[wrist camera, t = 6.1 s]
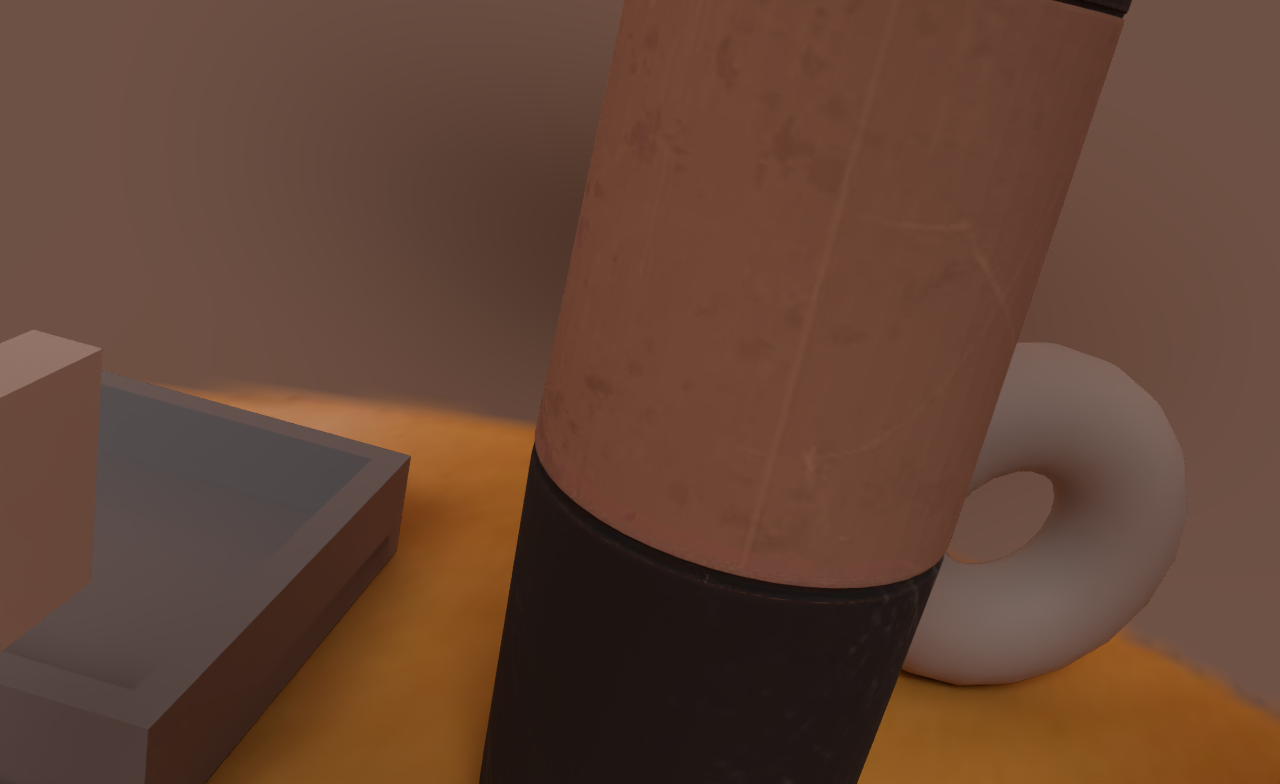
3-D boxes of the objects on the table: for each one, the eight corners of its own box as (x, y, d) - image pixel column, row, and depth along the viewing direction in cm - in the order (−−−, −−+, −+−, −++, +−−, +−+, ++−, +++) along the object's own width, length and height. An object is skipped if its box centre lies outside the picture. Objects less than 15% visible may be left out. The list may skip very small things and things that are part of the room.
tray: (396, 551, 33) (410, 456, 32) (138, 863, 21) (148, 729, 20) (-13, 434, 34) (-12, 339, 33) (-470, 669, 22) (-491, 534, 21)
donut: (790, 695, 31) (900, 339, 27) (761, 621, 34) (856, 292, 30) (1133, 730, 32) (1277, 401, 29) (1075, 656, 36) (1199, 351, 32)
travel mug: (577, 682, 29) (779, -198, 22) (867, 828, 26) (1204, -124, 19) (379, 860, 23) (576, -312, 15) (738, 1080, 20) (1178, -227, 13)
